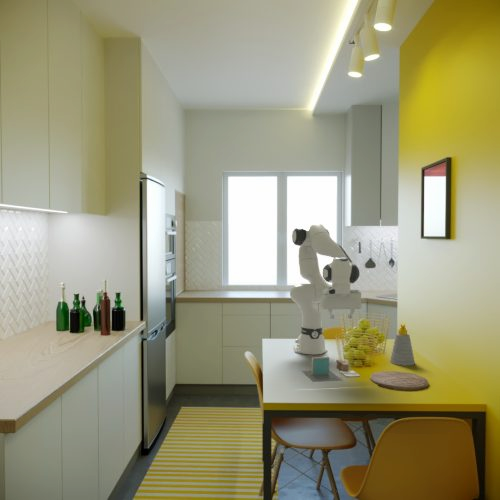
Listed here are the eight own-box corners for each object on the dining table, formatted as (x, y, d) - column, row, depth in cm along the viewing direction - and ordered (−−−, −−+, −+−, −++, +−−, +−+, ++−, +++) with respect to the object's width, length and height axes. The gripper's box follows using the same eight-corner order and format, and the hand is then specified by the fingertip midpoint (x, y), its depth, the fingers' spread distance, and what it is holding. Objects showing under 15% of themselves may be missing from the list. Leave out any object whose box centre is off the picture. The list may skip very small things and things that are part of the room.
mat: (301, 372, 231) (301, 371, 231) (329, 370, 234) (329, 369, 234) (313, 382, 214) (313, 381, 214) (343, 381, 216) (343, 380, 216)
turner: (332, 368, 240) (332, 360, 240) (345, 367, 241) (345, 359, 241) (346, 378, 222) (346, 369, 222) (360, 377, 223) (360, 369, 223)
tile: (311, 374, 226) (311, 357, 226) (327, 373, 227) (327, 356, 227) (312, 375, 224) (312, 358, 224) (329, 374, 226) (329, 357, 226)
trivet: (359, 377, 224) (359, 373, 224) (403, 373, 233) (403, 369, 233) (393, 393, 201) (393, 389, 201) (440, 388, 210) (440, 383, 210)
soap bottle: (389, 364, 248) (390, 325, 248) (390, 359, 260) (391, 321, 260) (414, 366, 244) (415, 326, 244) (414, 361, 256) (415, 323, 256)
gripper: (358, 289, 241) (358, 317, 241) (319, 289, 237) (319, 318, 237) (363, 290, 235) (363, 318, 235) (323, 290, 231) (323, 319, 231)
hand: (341, 318), depth 236 cm, fingers open, 8 cm apart
